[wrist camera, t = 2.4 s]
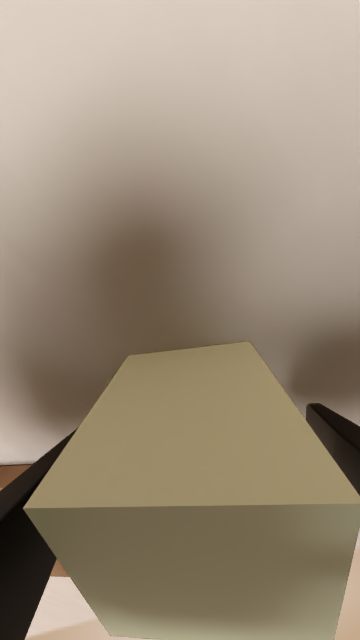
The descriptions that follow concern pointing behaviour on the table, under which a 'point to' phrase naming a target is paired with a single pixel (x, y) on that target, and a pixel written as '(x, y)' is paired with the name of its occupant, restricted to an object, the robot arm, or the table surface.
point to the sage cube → (201, 504)
